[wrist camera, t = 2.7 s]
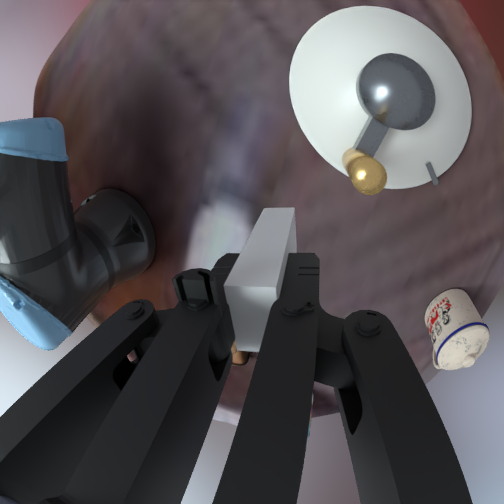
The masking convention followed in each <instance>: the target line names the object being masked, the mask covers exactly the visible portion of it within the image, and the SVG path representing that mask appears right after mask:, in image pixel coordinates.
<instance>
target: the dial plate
mask: <svg viewBox="0 0 504 504" xmlns="http://www.w3.org/2000/svg"><path fill="white" fill-rule="evenodd" d="M385 53H396V54H401V55H404V56H407V57H409V58H411V59H412V60H414V61H415V62H417V63H418V64H419V65H420V66H421V67H422V68H423V69H424V70H425V71H426V72H427V74H428V75H429V77H430V79H431V81H432V83H433V86H434V90H435V96H436V101H435V108H434V111H433V113H432V115H431V117H430V119H429V120H428V121H427V122H426V123H425V124H424V125H422V126H421V127H418V128H416V129H413V130H398V129H393V128H389V129H388V131H387V133H386V135H385V137H384V139H383V141H382V142H381V144H380V146H379V148H378V150H377V151H376V153H375V155H374V157H373V158H374V159H376V160H377V161H378V162H380V163H381V164H382V165H383V166H384V168H385V170H386V173H387V182H386V185H385V187H384V188H388V189H405V188H411V187H416V186H419V185H422V184H425V183H427V182H429V181H431V180H432V181H433V184H434V186H436V185H437V184H439V182H438V179H437V177H438V176H440V175H441V174H443V173H444V172H445V171H446V170H447V169H448V168H449V167H450V166H451V165H452V164H453V163H454V162H455V160H456V159H457V158H458V156H459V155H460V153H461V151H462V150H463V148H464V145H465V143H466V141H467V138H468V134H469V131H470V125H471V117H472V106H471V97H470V92H469V88H468V84H467V81H466V78H465V75H464V73H463V71H462V68H461V66H460V65H459V63H458V61H457V59H456V58H455V56H454V55H453V53H452V52H451V50H450V49H449V48H448V47H447V45H446V44H445V43H444V42H443V41H442V40H441V39H440V38H439V37H438V36H437V35H436V34H435V33H434V32H433V31H432V30H430V29H429V28H428V27H426V26H425V25H424V24H422V23H421V22H419V21H417V20H416V19H414V18H412V17H410V16H408V15H406V14H403V13H401V12H398V11H395V10H392V9H388V8H383V7H377V6H356V7H350V8H345V9H341V10H338V11H336V12H333V13H331V14H329V15H327V16H325V17H324V18H322V19H320V20H319V21H318V22H317V23H315V24H314V25H313V26H312V27H311V28H310V29H309V30H308V31H307V32H306V34H305V35H304V36H303V38H302V39H301V41H300V42H299V44H298V46H297V48H296V51H295V53H294V55H293V59H292V63H291V67H290V77H289V85H290V96H291V101H292V106H293V109H294V112H295V115H296V118H297V120H298V122H299V125H300V127H301V129H302V131H303V132H304V134H305V135H306V137H307V139H308V140H309V142H310V143H311V144H312V146H313V147H314V148H315V149H316V151H317V152H318V153H319V154H320V155H321V156H322V157H323V158H324V159H325V160H326V161H327V162H329V163H330V164H331V165H332V166H333V167H335V168H336V169H337V170H339V171H341V172H342V173H344V174H345V175H347V176H348V174H347V172H346V170H345V169H344V167H343V164H342V156H343V154H344V152H345V151H346V150H348V149H349V148H352V147H353V145H354V143H355V142H356V140H357V138H358V136H359V134H360V132H361V130H362V129H363V127H364V125H365V123H366V121H367V119H368V117H369V116H368V115H367V114H366V113H365V111H364V110H363V109H362V107H361V105H360V103H359V101H358V98H357V94H356V80H357V77H358V74H359V72H360V71H361V69H362V68H363V67H364V66H365V65H366V64H367V63H368V62H369V61H370V60H372V59H373V58H375V57H376V56H378V55H381V54H385Z"/></svg>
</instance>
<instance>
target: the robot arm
mask: <svg viewBox="0 0 504 504" xmlns="http://www.w3.org/2000/svg"><path fill="white" fill-rule="evenodd" d="M68 160H69V158H68V155H67V154H66V146H65V136H64V128H63V126H62V124H61V122H60V121H59V120H57V119H55V118H50V117H43V118H29V119H20V120H12V121H6V122H0V311H1V312H2V313H3V315H4V316H5V317H6V319H7V320H8V321H9V322H10V323H11V325H12V326H13V327H14V328H15V329H17V331H18V332H19V333H20V334H21V335H22V336H23V337H25V338H26V339H27V340H28V341H30V342H31V343H32V344H34V345H35V346H37V347H39V348H41V349H43V350H48V351H49V350H54V349H55V348H57V347H58V346H59V345H60V344H61V343H62V342H63V341H64V340H65V339H66V338H67V337H68V336H70V335H71V334H72V333H73V331H74V330H75V329H76V328H77V327H78V325H79V324H80V323H81V322H82V321H83V319H84V318H85V317H86V316H87V315H88V314H89V313H90V312H91V310H92V309H93V308H94V307H95V306H96V305H97V304H98V302H99V301H100V300H101V299H102V298H103V297H104V296H105V295H106V294H107V292H108V291H109V290H110V289H111V288H113V287H115V286H117V285H120V284H122V283H124V282H126V281H128V280H130V279H134V278H136V277H138V276H139V275H140V274H142V273H143V272H144V271H145V269H146V268H147V267H148V266H149V265H150V264H151V262H152V260H153V258H154V255H155V250H156V240H155V234H154V230H153V227H152V224H151V222H150V220H149V218H148V216H147V214H146V213H145V211H144V210H143V208H142V207H141V206H140V205H139V203H138V202H137V201H136V200H134V199H133V198H132V197H131V196H129V195H128V194H126V193H124V192H122V191H120V190H117V189H102V190H100V191H98V192H96V193H94V194H92V195H90V196H89V197H87V198H86V199H85V200H84V201H83V202H82V204H81V205H80V206H79V207H78V209H77V210H76V211H75V212H74V213H73V207H72V200H71V194H70V186H69V178H68V169H67V161H68ZM172 281H173V284H174V287H175V291H176V294H177V297H178V300H179V302H178V304H177V305H176V307H175V308H173V309H167V310H159V311H155V309H154V306H153V304H152V303H151V302H150V301H148V300H143V299H141V300H134V301H132V302H129V303H127V304H126V305H124V306H122V307H121V308H120V309H119V310H118V311H116V312H115V313H114V314H113V315H112V316H110V317H109V318H108V319H107V320H106V321H105V322H103V323H102V324H101V325H100V326H99V327H98V328H96V329H95V330H94V331H93V332H92V333H91V334H89V335H88V336H87V337H86V338H85V339H84V340H83V341H81V342H80V343H79V344H78V345H77V346H76V347H75V348H73V349H72V350H71V351H70V352H69V353H68V354H67V355H66V356H64V357H63V358H62V359H61V360H60V361H59V362H58V363H57V364H56V365H54V366H53V367H52V368H51V369H50V370H49V371H48V372H47V373H46V374H45V375H43V376H42V377H41V378H40V379H39V380H38V381H37V382H36V383H35V384H34V385H33V386H32V387H31V388H30V389H29V390H28V391H26V392H25V393H24V394H23V395H22V396H21V397H20V398H19V399H18V400H17V401H16V402H15V403H14V404H13V405H12V406H11V407H10V408H9V409H8V410H7V411H6V412H5V413H4V414H3V415H2V416H1V417H0V504H181V501H182V498H183V496H184V493H185V491H186V488H187V485H188V483H189V480H190V478H191V475H192V472H193V470H194V467H195V464H196V462H197V459H198V456H199V454H200V451H201V448H202V446H203V443H204V440H205V437H206V435H207V432H208V429H209V427H210V424H211V421H212V418H213V416H214V413H215V410H216V407H217V404H218V402H219V399H220V396H221V393H222V390H223V388H224V385H225V382H226V379H227V376H228V374H229V371H230V368H231V365H232V362H233V355H232V351H231V348H232V346H233V343H234V340H235V343H236V347H237V350H241V351H252V352H259V354H258V357H257V361H256V364H255V368H254V371H253V375H252V379H251V382H250V386H249V389H248V392H247V396H246V399H245V403H244V406H243V409H242V413H241V416H240V419H239V423H238V426H237V429H236V433H235V436H234V439H233V442H232V446H231V449H230V452H229V455H228V458H227V461H226V464H225V467H224V471H223V474H222V477H221V480H220V483H219V486H218V489H217V492H216V494H215V497H214V501H213V503H212V504H296V503H297V498H298V492H299V487H300V482H301V475H302V470H303V464H304V458H305V451H306V444H307V437H308V430H309V422H310V413H311V405H312V395H313V385H314V381H316V382H319V383H322V384H325V385H329V386H332V387H334V391H335V395H336V399H337V402H338V406H339V410H340V414H341V418H342V422H343V426H344V430H345V434H346V438H347V442H348V446H349V451H350V455H351V460H352V464H353V469H354V473H355V478H356V483H357V487H358V492H359V497H360V502H361V504H473V503H472V500H471V497H470V494H469V490H468V487H467V484H466V481H465V478H464V475H463V472H462V470H461V467H460V464H459V461H458V459H457V456H456V454H455V451H454V448H453V446H452V443H451V441H450V438H449V436H448V434H447V431H446V429H445V427H444V424H443V422H442V420H441V418H440V415H439V413H438V411H437V409H436V406H435V404H434V402H433V400H432V398H431V396H430V394H429V392H428V390H427V388H426V386H425V384H424V382H423V380H422V378H421V376H420V374H419V372H418V370H417V368H416V366H415V364H414V362H413V360H412V358H411V357H410V355H409V353H408V351H407V349H406V347H405V346H404V344H403V342H402V340H401V338H400V337H399V335H398V333H397V331H396V330H395V328H394V326H393V324H392V323H391V321H390V320H389V319H388V318H387V317H386V316H385V315H383V314H381V313H379V312H376V311H372V310H360V311H357V312H354V313H352V314H350V315H349V316H348V317H346V319H342V318H338V317H335V316H332V315H330V314H328V313H327V312H325V311H324V310H323V309H322V308H321V306H320V304H319V258H318V257H317V256H316V255H315V253H297V245H296V223H295V207H291V208H264V209H263V211H262V213H261V215H260V217H259V219H258V221H257V222H256V224H255V226H254V228H253V230H252V232H251V234H250V236H249V238H248V240H247V241H246V243H245V245H244V247H243V249H242V251H241V253H227V254H225V255H224V256H223V257H221V258H220V259H218V261H217V262H216V264H215V265H214V268H213V269H212V270H211V271H210V270H208V269H202V268H197V269H190V270H186V271H183V272H181V273H180V274H178V275H176V276H175V277H174V278H173V279H172ZM131 351H133V353H134V355H135V356H136V359H135V360H134V361H129V359H128V357H127V355H128V354H129V353H130V352H131Z"/></svg>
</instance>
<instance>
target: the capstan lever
mask: <svg viewBox="0 0 504 504" xmlns="http://www.w3.org/2000/svg"><path fill="white" fill-rule="evenodd" d="M356 94H357V98H358V101H359V103H360V105H361V107H362V109H363V110H364V111H365V113H366V114H367V115H368V116H369V117H368V119H367V121H366V123H365V125H364V127H363V129H362V130H361V132H360V134H359V136H358V138H357V140H356V142H355V143H354V145H353V147H352V148H349V149H348V150H346V151H345V152H344V154H343V156H342V164H343V167H344V169H345V170H346V172H347V174H348V176H349V177H350V179H351V181H352V183H353V184H354V186H355V188H356V189H357V190H358V191H359V192H361V193H363V194H365V195H374V194H377V193H379V192H380V191H381V190H382V189H383V188H384V187H385V185H386V182H387V173H386V170H385V168H384V166H383V165H382V164H381V163H380V162H378V161H377V160H376V159H374V158H373V157H374V155H375V153H376V151H377V150H378V148H379V146H380V144H381V142H382V141H383V139H384V137H385V135H386V133H387V131H388V129H389V128H393V129H398V130H413V129H416V128H418V127H421V126H422V125H424V124H425V123H426V122H427V121H428V120H429V119H430V117H431V115H432V113H433V111H434V108H435V101H436V96H435V90H434V86H433V83H432V81H431V79H430V77H429V75H428V74H427V72H426V71H425V70H424V69H423V68H422V67H421V66H420V65H419V64H418V63H417V62H415V61H414V60H412V59H411V58H409V57H407V56H404V55H401V54H396V53H385V54H381V55H378V56H376V57H375V58H373V59H372V60H370V61H369V62H368V63H367V64H366V65H365V66H364V67H363V68H362V69H361V71H360V72H359V74H358V77H357V80H356Z"/></svg>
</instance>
